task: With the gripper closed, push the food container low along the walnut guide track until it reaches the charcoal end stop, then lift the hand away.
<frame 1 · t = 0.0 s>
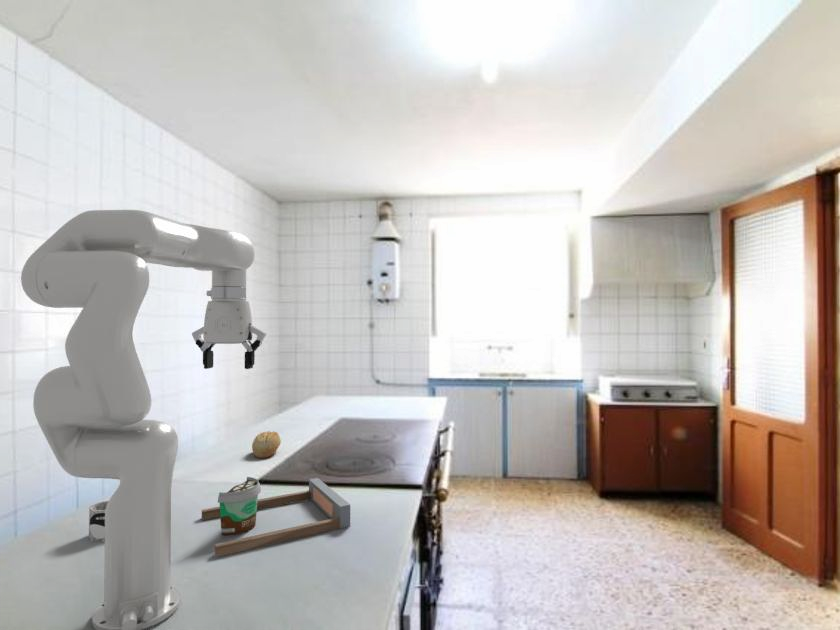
hand: (228, 368, 114), 37 cm above the worktop, tool pointing down, fingers open, 9 cm apart
guide track: (269, 523, 116), on the worktop
food container: (245, 529, 113), on the worktop
end stop: (328, 510, 124), on the worktop
bread roll: (266, 454, 177), on the worktop
mug: (115, 534, 110), on the worktop
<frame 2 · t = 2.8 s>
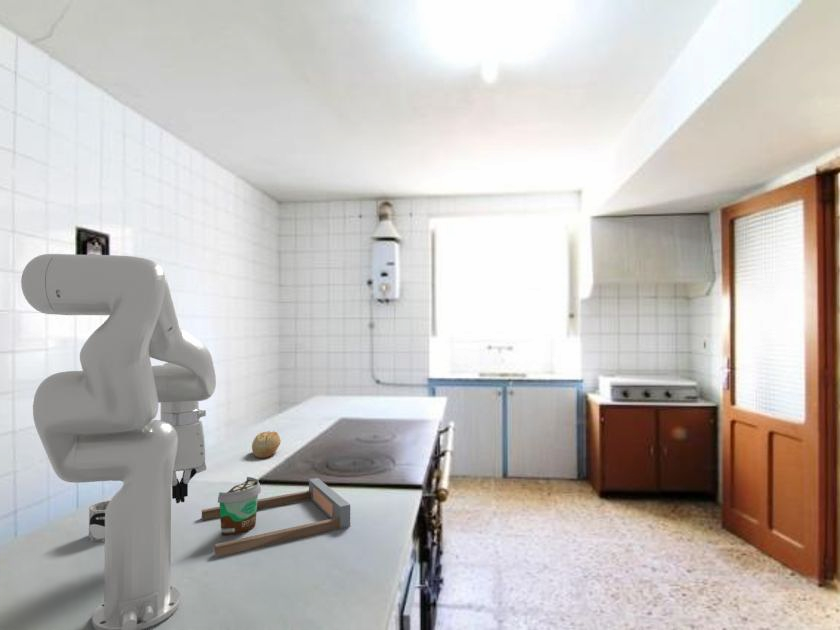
hand: (179, 500, 107), 9 cm above the worktop, tool pointing down, fingers closed
nothing on the worktop moved.
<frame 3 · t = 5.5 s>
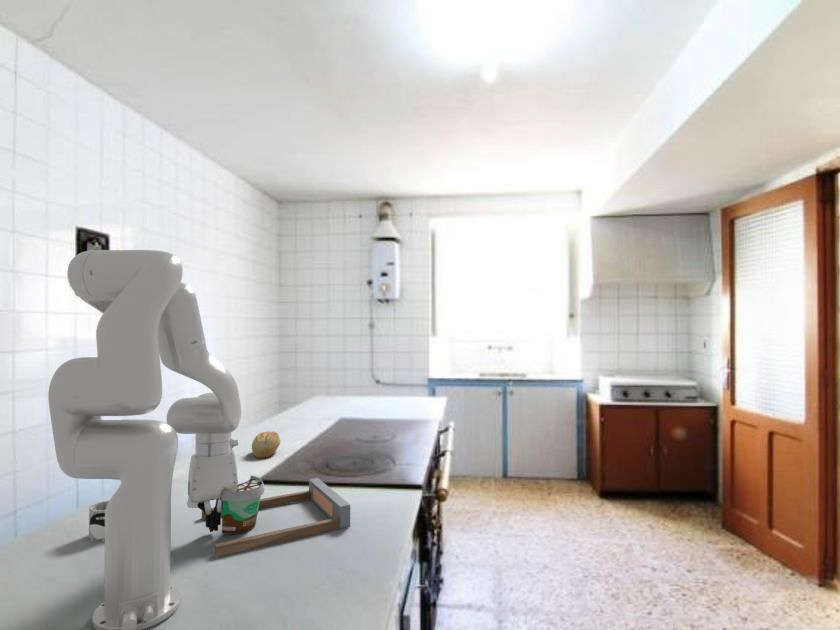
hand: (213, 529, 110), 1 cm above the worktop, tool pointing down, fingers closed
food container: (245, 528, 113), on the worktop, touching gripper
everything else where it was.
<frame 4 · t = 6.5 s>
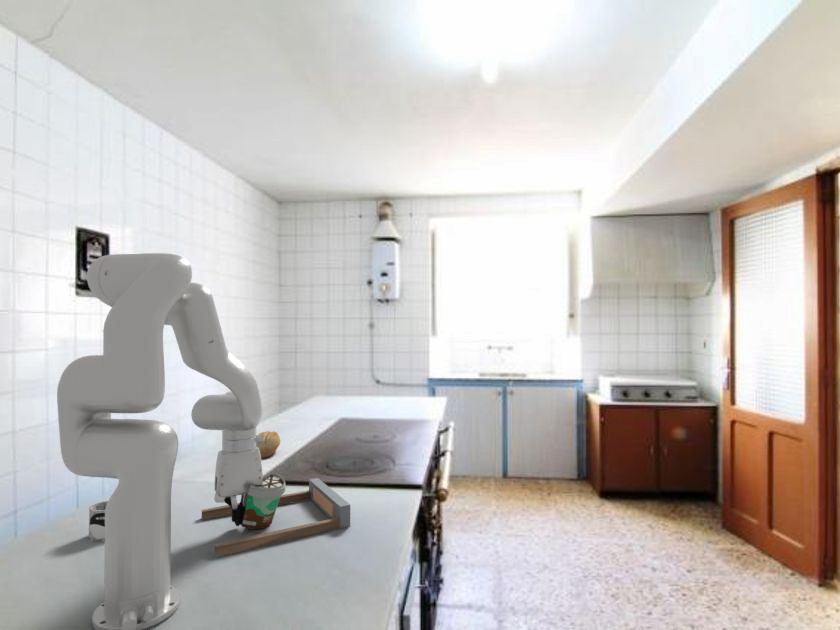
hand: (238, 523, 113), 1 cm above the worktop, tool pointing down, fingers closed
food container: (262, 523, 115), on the worktop, touching gripper
everything else where it was.
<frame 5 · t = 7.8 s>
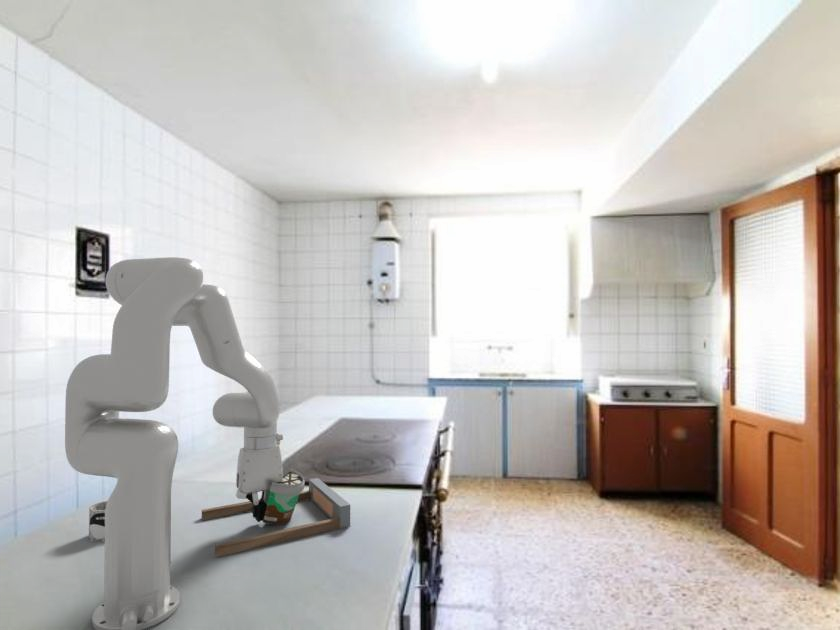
hand: (259, 519, 115), 1 cm above the worktop, tool pointing down, fingers closed
food container: (282, 519, 118), on the worktop, touching gripper
everything else where it was.
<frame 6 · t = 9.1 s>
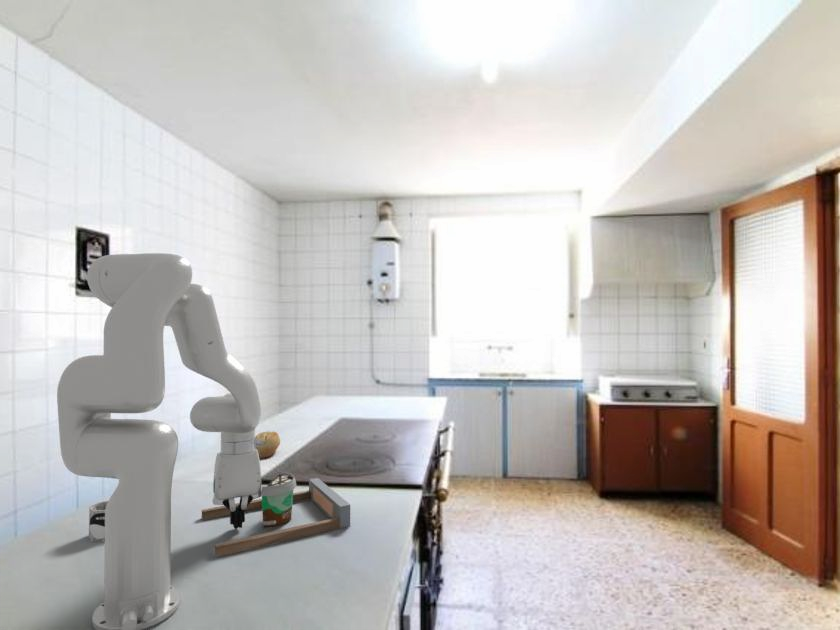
hand: (237, 526, 112), 1 cm above the worktop, tool pointing down, fingers closed
food container: (282, 521, 118), on the worktop
everything else where it was.
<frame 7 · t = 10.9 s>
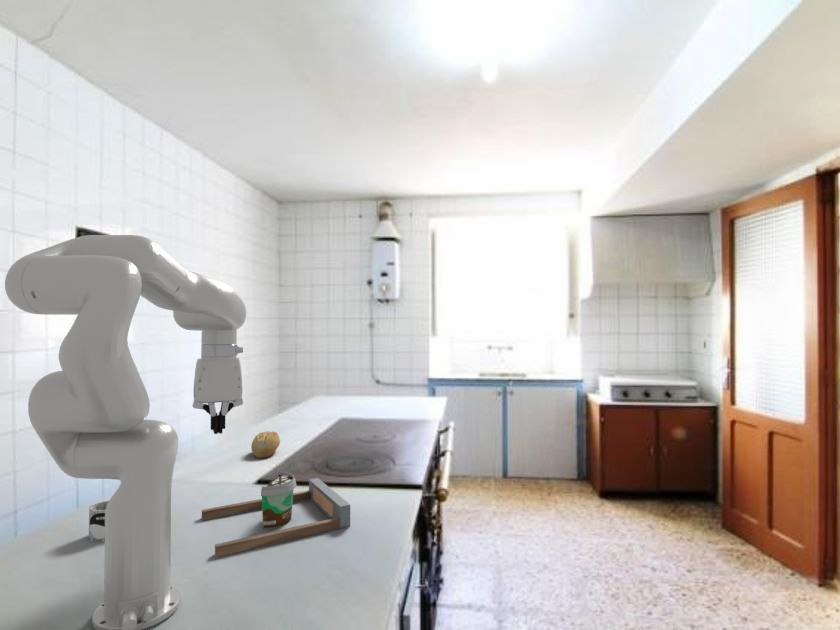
hand: (217, 432, 111), 23 cm above the worktop, tool pointing down, fingers closed
nothing on the worktop moved.
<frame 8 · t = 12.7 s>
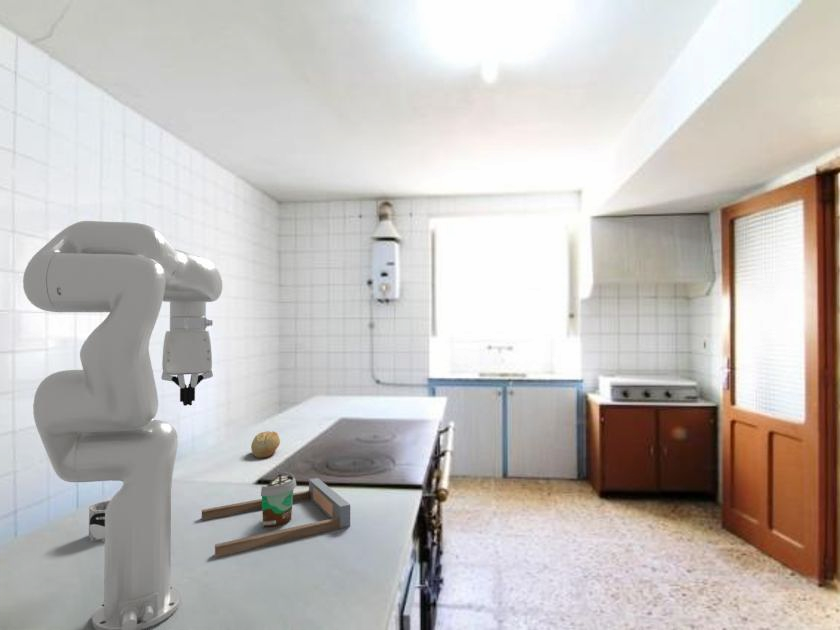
hand: (187, 404, 112), 29 cm above the worktop, tool pointing down, fingers closed
nothing on the worktop moved.
at the end: food container inside the target area (3.6 cm from its centre), on the worktop; food container tilted 0°; food container moved 8.7 cm from its start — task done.
